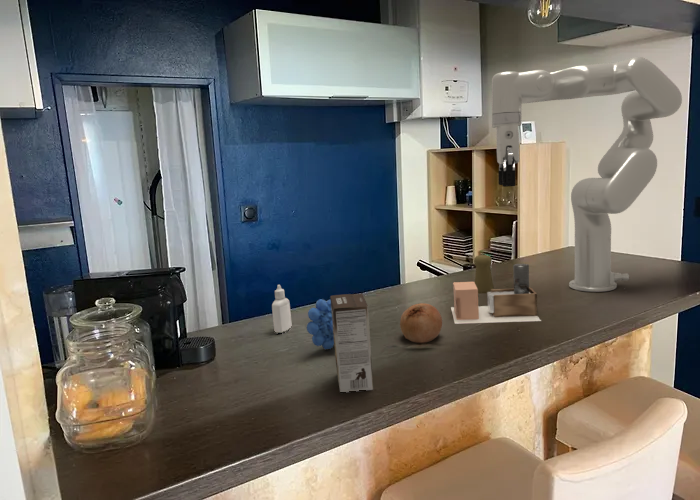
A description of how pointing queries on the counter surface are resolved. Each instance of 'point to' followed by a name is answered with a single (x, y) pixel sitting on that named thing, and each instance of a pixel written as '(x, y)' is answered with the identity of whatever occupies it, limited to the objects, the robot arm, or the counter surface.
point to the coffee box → (352, 342)
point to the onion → (421, 323)
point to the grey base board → (493, 317)
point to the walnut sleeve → (515, 304)
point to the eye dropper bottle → (281, 311)
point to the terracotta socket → (465, 300)
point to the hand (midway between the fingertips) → (506, 185)
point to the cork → (483, 274)
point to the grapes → (321, 324)
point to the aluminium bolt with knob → (519, 284)
